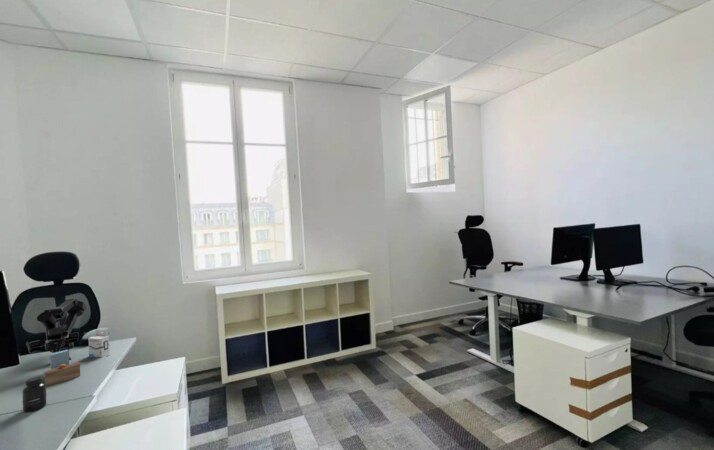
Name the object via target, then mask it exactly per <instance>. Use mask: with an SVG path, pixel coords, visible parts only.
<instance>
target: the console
mask: <svg viewBox="0 0 714 450" xmlns="http://www.w3.org/2000/svg"><path fill="white" fill-rule="evenodd" d="M43 372H44V377H43V383H45V384H46V387H48V386H51V385H55V384H59V383H61V382H65V381H68V380H72V379H75V378H78V377H81V363H80V362H79V361H75V362H73V363H69V365H66V364H61V365H59V367H58V368H54V369H51V368H50V369H47V370H45V371H43Z"/></svg>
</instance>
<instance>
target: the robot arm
mask: <svg viewBox="0 0 714 450" xmlns="http://www.w3.org/2000/svg"><path fill="white" fill-rule="evenodd" d="M86 310H87V305H86V303H85V302H84V301H80V300H78V298H68V299H65V300H64V302H63V303H61V304H59V305H58V306H56V307H52V308H50V309H44V310H43V312H41V313H40V314H38V316H37V317H36V321H38V323H39V324H40V325H41V326H43V327H44V329H45V330H44V331H45V337H46V338H45V339H46V340H45V341H43V342H41V340H40V339H38V340H33V341H30V342H29V343H28V353H30V354H31V353H35V352H39V350H41V348H42V347H44V350H45V351H48V352H50V353H55V352H59V351H63V350H68V351H69V352H70V350H72V349H74V343H77V342H79V340H80V333H79V332H78V331H75V332H72V330H73V328H74V326H75V324H76V322H77V320H78V318H79V317H80V316H82V315H83V314H84V313H85V311H86ZM66 316H67V317H66ZM65 317H66V318H65ZM64 318H65V320H64V322H63V324H62V325H61V321H60V320H61V319H64ZM40 347H41V348H40ZM71 360H72V358H71V357H70V356H69V361H71Z"/></svg>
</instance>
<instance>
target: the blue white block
mask: <svg viewBox="0 0 714 450" xmlns="http://www.w3.org/2000/svg"><path fill="white" fill-rule="evenodd" d="M69 357H70V350H69V351H68V350H63V351H59V352H55V353H52V352H50V353H49V363H50V364H49V365H50V369H54V368H58V367H59V365H61V364H66V365H69V364H70V360H69Z"/></svg>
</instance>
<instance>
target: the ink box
mask: <svg viewBox="0 0 714 450" xmlns="http://www.w3.org/2000/svg"><path fill="white" fill-rule="evenodd" d="M87 340H88V357H89V358H103V357H104V358H105V357H110V356H111V355H110V336H109V330H108V329H96V330H95V335H93V336H90V337H89V338H88V339H87Z"/></svg>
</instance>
